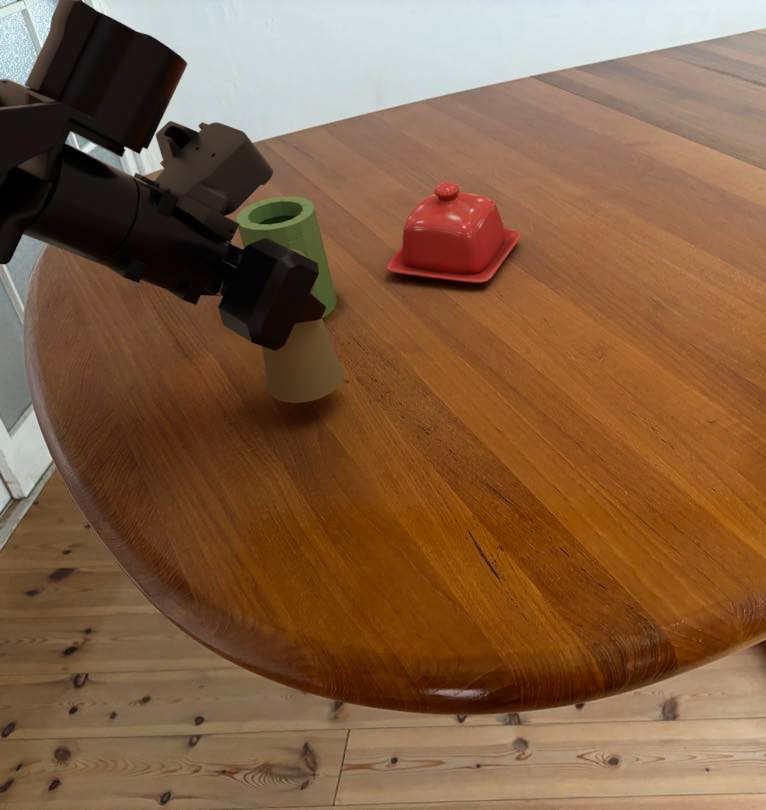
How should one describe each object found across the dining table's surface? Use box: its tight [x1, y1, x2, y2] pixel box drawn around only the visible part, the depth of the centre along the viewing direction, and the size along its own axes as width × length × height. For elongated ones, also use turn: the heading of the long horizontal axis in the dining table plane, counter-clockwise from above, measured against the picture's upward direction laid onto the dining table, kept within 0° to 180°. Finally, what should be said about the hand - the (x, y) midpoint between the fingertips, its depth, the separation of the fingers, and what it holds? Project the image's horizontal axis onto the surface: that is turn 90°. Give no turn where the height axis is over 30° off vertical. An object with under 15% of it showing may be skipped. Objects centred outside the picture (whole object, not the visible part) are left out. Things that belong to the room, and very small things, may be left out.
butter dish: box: [386, 181, 522, 284], centre depth 83 cm, size 12×12×8 cm
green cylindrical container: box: [235, 196, 338, 319], centre depth 77 cm, size 7×7×10 cm
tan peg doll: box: [261, 248, 345, 404], centre depth 62 cm, size 6×6×11 cm
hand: (302, 302), depth 63 cm, fingers closed on tan peg doll, 5 cm apart
